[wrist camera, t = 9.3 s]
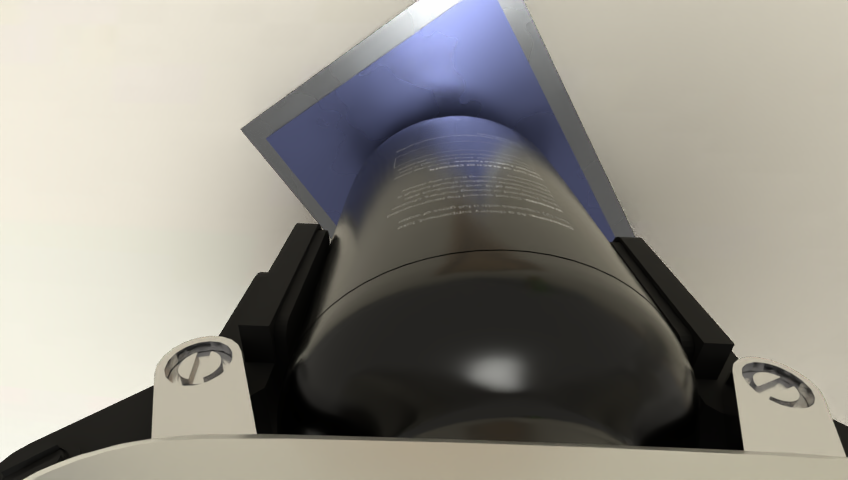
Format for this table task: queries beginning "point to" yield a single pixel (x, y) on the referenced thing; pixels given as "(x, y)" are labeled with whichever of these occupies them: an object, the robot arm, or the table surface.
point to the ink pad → (431, 103)
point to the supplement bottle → (481, 308)
